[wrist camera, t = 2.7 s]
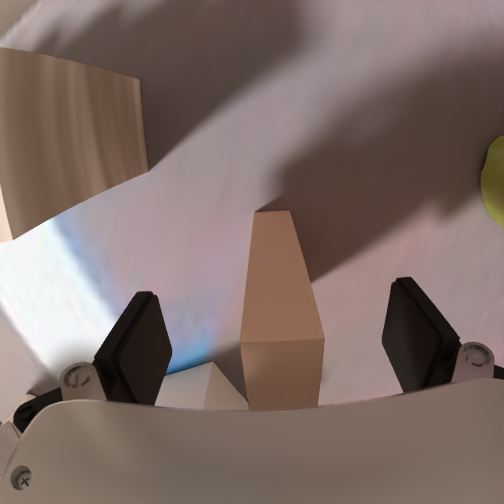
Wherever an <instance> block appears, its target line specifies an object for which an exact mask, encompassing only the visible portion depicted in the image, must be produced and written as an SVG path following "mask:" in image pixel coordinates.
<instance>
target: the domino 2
mask: <svg viewBox="0 0 504 504" xmlns="http://www.w3.org/2000/svg"><path fill="white" fill-rule="evenodd" d="M324 340H325V337H324V333H323V329H322V325H321V321H320V317H319V313H318V309H317V306H316V302H315V298H314V294H313V291H312V287H311V283H310V280H309V276H308V272H307V269H306V265H305V262H304V258H303V255H302V251H301V248H300V244H299V241H298V237H297V234H296V230H295V227H294V224H293V220H292V217H291V214H290V210H287V211H268V212H254V219H253V228H252V237H251V245H250V254H249V263H248V272H247V281H246V290H245V299H244V307H243V316H242V325H241V334H240V349H241V357H242V364H243V371H244V379H245V386H246V393H247V400H248V407H249V410H255V409H282V408H298V407H310V406H318V398H319V390H320V381H321V372H322V362H323V352H324Z"/></svg>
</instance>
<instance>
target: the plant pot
mask: <svg viewBox="0 0 504 504" xmlns="http://www.w3.org/2000/svg"><path fill="white" fill-rule="evenodd" d="M481 194H482V199H483V203H484V206H485V208H486V210H487V212H488V214H489V216H490V217H491V218H492V219H493V220H494V221H495V222H496V223H498V224H499V225H500V226H501V227H503V228H504V135H501V136H499V137H498V138H496V139H495V140H494V141H493V142H492V144H491V145H490V146H489V148H488V151H487V158H486V162H485V165H484V168H483V170H482V172H481Z"/></svg>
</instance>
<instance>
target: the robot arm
mask: <svg viewBox="0 0 504 504" xmlns="http://www.w3.org/2000/svg"><path fill="white" fill-rule="evenodd" d="M459 339H460V337H459V336H458V335H457V333H456V332H455V331H454V329H453V328H452V327H451V325H450V324H449V323H448V321H447V320H446V319H445V318H444V316H443V315H442V314H441V313H440V311H439V310H438V309H437V307H436V306H435V305H434V304H433V303H432V301H431V300H430V299H429V298H428V296H427V295H426V294H425V293H424V292H423V290H422V289H421V288H420V287H419V286H418V284H417V283H416V282H415V281H414V280H413V279H412V278H411V277H402V278H397V279H396V281H395V282H393V283H392V285H391V290H390V297H389V303H388V308H387V314H386V319H385V324H384V329H383V334H382V345H383V347H384V349H385V351H386V354H387V356H388V358H389V360H390V362H391V365H392V367H393V369H394V371H395V374H396V376H397V378H398V381H399V383H400V385H401V388H402V390H403V392H404V393H401V394H396V395H391V396H385V397H380V398H374V399H368V400H361V401H354V402H347V403H339V404H330V405H321V406H310V407H298V408H282V409H255V410H219V409H192V408H176V407H163V406H154V405H155V402H156V399H157V397H158V394H159V391H160V388H161V385H162V382H163V379H164V376H165V374H166V371H167V368H168V365H169V362H170V360H171V357H172V347H171V344H170V340H169V337H168V333H167V330H166V326H165V323H164V319H163V315H162V311H161V308H160V304H159V300H158V297H157V295H154V294H153V293H152V292H151V291H139V292H137V293H136V294H135V295H134V297H133V298H132V300H131V301H130V303H129V304H128V306H127V307H126V309H125V310H124V312H123V313H122V315H121V316H120V318H119V319H118V321H117V322H116V324H115V325H114V327H113V328H112V330H111V331H110V333H109V334H108V336H107V337H106V339H105V341H104V342H103V344H102V345H101V347H100V348H99V350H98V352H97V353H96V355H95V356H94V359H95V360H94V361H93V363H92V364H90V363H86V362H80V363H76V364H73V365H71V366H69V367H68V368H67V369H65V371H64V372H63V373H62V375H61V377H60V387H59V388H57V389H54V390H52V391H50V392H48V393H45V394H43V395H41V396H38V397H36V398H34V399H32V400H29V401H27V402H25V403H23V404H21V405H20V406H19V407H18V408H17V409H16V411H15V413H14V416H13V422H12V423H11V422H10V421H7V422H6V423H4V424H3V425H2V426H0V504H504V368H502V367H500V366H497V365H494V355H493V353H492V351H491V350H490V349H489V348H488V347H487V346H485V345H483V344H481V343H478V342H467V343H465V344H463V345H462V344H461V343H460V341H459Z"/></svg>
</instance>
